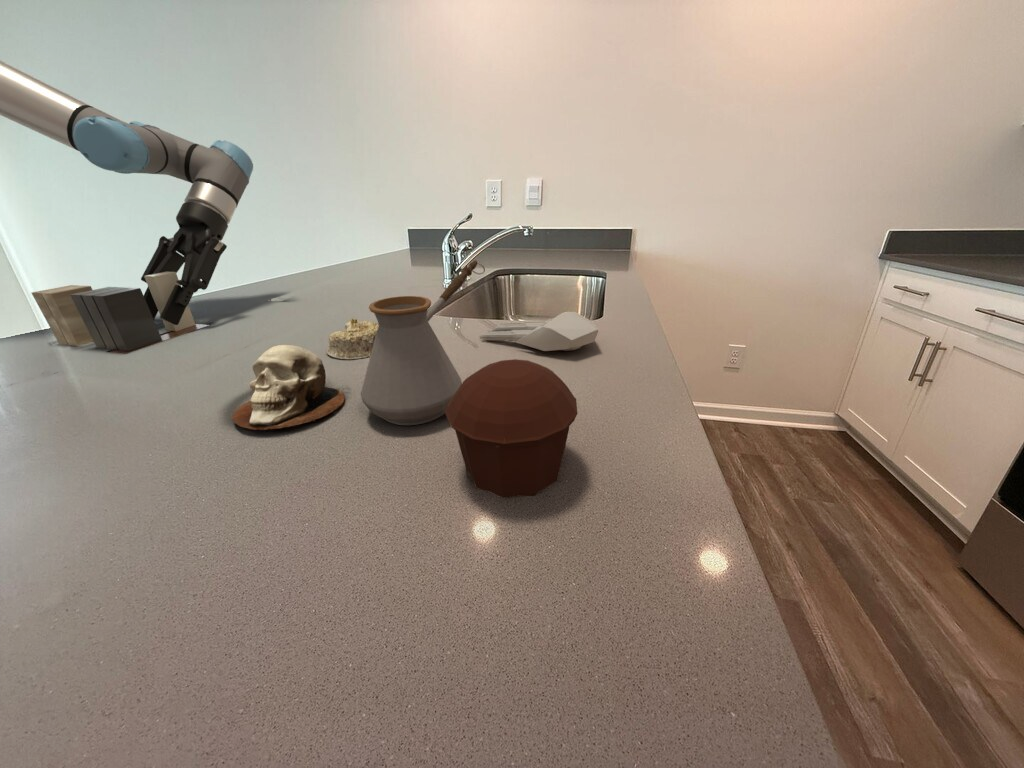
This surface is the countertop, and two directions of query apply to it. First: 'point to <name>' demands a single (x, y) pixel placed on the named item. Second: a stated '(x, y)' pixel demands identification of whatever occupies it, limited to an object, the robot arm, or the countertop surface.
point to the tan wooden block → (64, 314)
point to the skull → (287, 390)
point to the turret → (548, 333)
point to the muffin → (512, 426)
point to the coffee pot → (410, 360)
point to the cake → (353, 340)
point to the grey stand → (121, 319)
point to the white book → (167, 297)
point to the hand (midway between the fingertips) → (156, 320)
